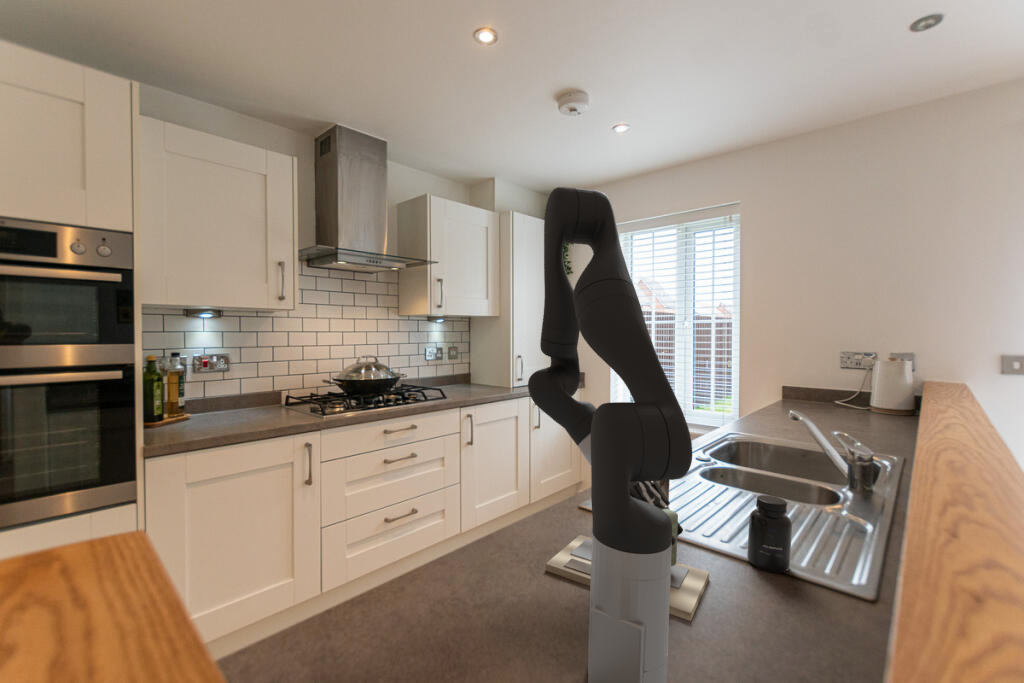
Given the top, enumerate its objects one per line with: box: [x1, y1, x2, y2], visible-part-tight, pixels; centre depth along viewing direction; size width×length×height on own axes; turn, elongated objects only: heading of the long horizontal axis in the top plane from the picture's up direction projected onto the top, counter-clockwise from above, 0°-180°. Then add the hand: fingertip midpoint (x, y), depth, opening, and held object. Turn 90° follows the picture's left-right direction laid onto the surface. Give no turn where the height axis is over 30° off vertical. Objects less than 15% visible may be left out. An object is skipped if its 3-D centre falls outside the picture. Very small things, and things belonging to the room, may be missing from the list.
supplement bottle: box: [746, 494, 793, 574], centre depth 84 cm, size 7×7×12 cm
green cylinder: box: [660, 508, 679, 566], centre depth 78 cm, size 4×4×8 cm
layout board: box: [545, 534, 710, 622], centre depth 80 cm, size 14×24×1 cm, turn 57°
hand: (675, 539), depth 77 cm, fingers closed on green cylinder, 4 cm apart
